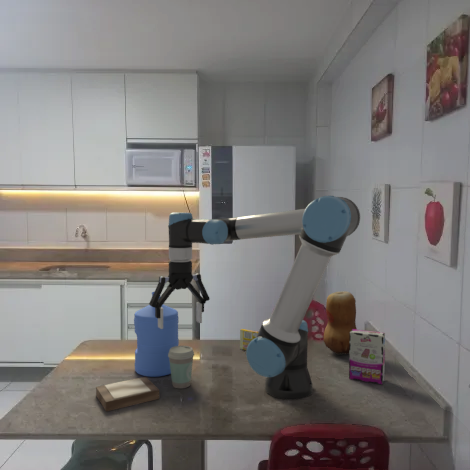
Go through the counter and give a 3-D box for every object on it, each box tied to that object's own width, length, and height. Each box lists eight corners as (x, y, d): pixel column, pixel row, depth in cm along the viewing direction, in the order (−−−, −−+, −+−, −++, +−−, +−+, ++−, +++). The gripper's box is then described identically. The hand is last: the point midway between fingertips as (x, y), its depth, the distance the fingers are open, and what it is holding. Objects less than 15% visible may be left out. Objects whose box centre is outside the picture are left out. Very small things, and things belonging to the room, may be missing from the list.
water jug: (187, 367, 157) (187, 291, 155) (157, 381, 144) (156, 299, 142) (156, 358, 166) (155, 286, 164) (125, 371, 153) (124, 293, 151)
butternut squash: (317, 349, 177) (318, 289, 175) (347, 346, 180) (348, 287, 179) (334, 361, 163) (335, 296, 162) (365, 358, 167) (366, 294, 165)
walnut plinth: (159, 398, 131) (159, 389, 131) (106, 411, 123) (106, 401, 123) (145, 384, 142) (145, 375, 141) (96, 395, 133) (96, 386, 133)
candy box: (277, 354, 171) (277, 334, 170) (275, 356, 169) (275, 335, 169) (242, 347, 179) (242, 328, 179) (239, 349, 177) (239, 329, 177)
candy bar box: (384, 379, 146) (385, 332, 145) (382, 385, 142) (383, 336, 141) (351, 373, 151) (352, 328, 150) (348, 379, 147) (349, 331, 146)
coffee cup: (189, 391, 137) (189, 354, 136) (164, 389, 138) (164, 352, 137) (197, 380, 145) (197, 345, 144) (173, 378, 147) (173, 344, 146)
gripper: (209, 256, 148) (208, 317, 150) (139, 261, 136) (139, 327, 137) (219, 259, 142) (219, 322, 144) (147, 264, 129) (147, 333, 131)
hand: (180, 325), depth 140 cm, fingers open, 13 cm apart
